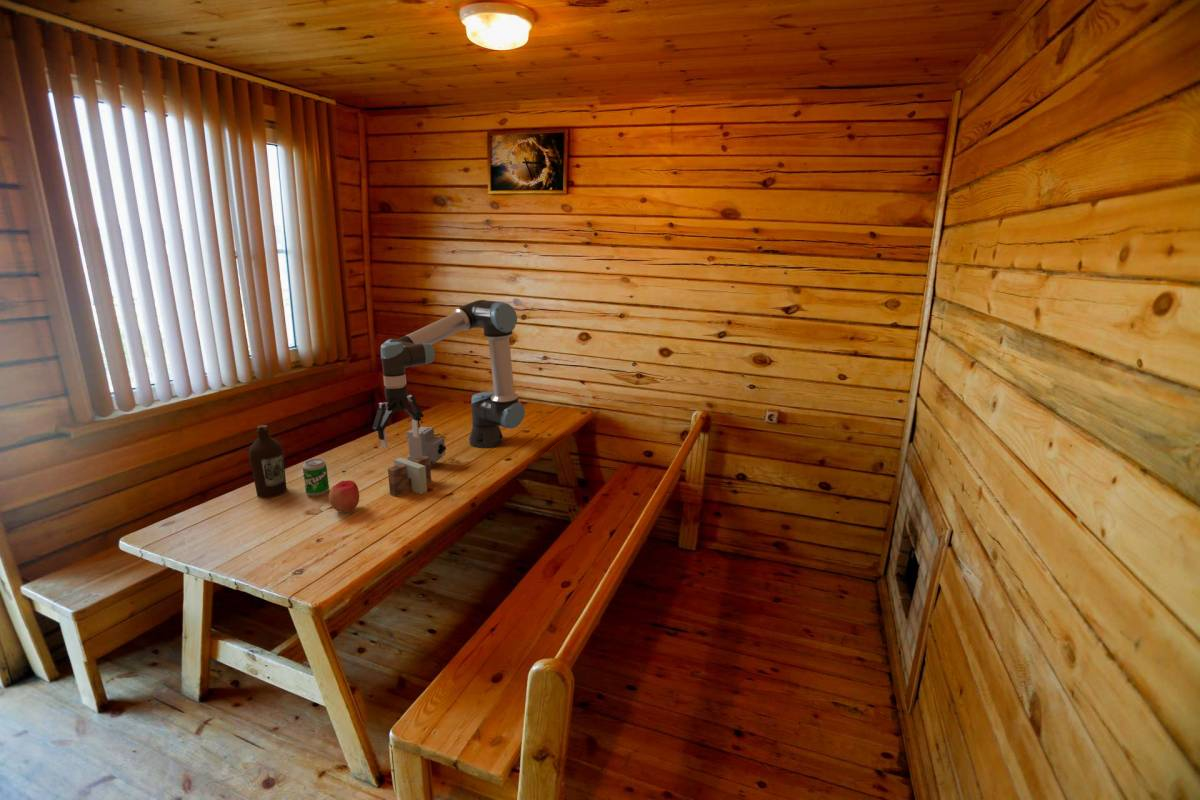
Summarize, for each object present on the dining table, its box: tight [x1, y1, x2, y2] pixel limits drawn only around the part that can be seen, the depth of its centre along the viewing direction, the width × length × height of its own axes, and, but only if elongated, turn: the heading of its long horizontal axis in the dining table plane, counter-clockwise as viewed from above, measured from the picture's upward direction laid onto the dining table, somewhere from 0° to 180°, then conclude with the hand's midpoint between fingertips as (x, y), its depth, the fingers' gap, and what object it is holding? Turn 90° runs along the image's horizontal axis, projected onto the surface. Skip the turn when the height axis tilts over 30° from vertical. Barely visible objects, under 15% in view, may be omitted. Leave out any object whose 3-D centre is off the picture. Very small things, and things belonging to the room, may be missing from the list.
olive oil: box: [248, 424, 288, 499], centre depth 204 cm, size 11×11×25 cm
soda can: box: [302, 458, 330, 497], centre depth 206 cm, size 8×8×12 cm
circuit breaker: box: [405, 426, 447, 467], centre depth 232 cm, size 8×14×15 cm, turn 78°
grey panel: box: [393, 457, 428, 495], centre depth 211 cm, size 14×3×10 cm, turn 55°
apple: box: [328, 480, 360, 513], centre depth 193 cm, size 10×10×10 cm
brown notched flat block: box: [387, 456, 432, 497], centre depth 211 cm, size 16×3×10 cm, turn 145°
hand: (400, 442), depth 211 cm, fingers open, 13 cm apart
